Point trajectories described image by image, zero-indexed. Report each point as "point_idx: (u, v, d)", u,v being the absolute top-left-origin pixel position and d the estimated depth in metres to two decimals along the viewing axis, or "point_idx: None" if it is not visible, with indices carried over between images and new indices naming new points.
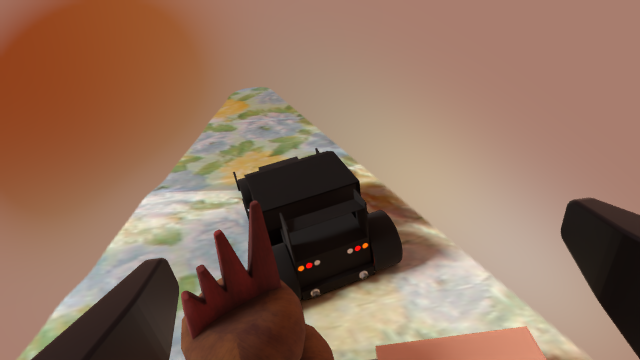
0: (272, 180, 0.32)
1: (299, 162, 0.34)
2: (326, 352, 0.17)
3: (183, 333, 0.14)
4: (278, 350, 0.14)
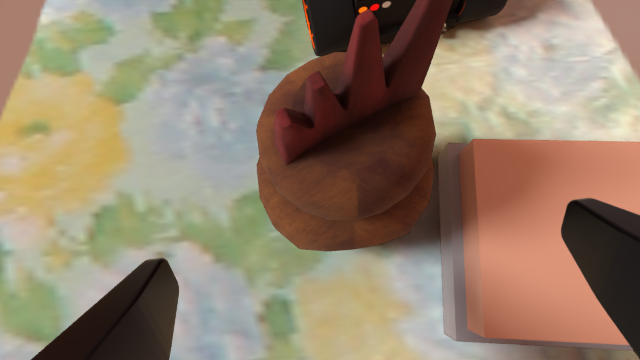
0: None
1: None
2: None
3: (266, 148, 0.09)
4: (405, 188, 0.10)
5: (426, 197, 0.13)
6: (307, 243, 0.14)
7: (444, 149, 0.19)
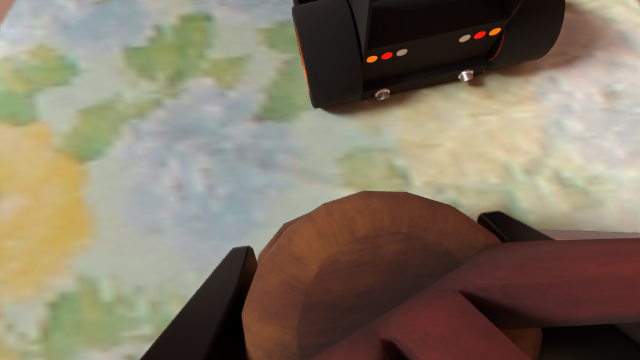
0: None
1: None
2: None
3: None
4: None
5: None
6: None
7: None
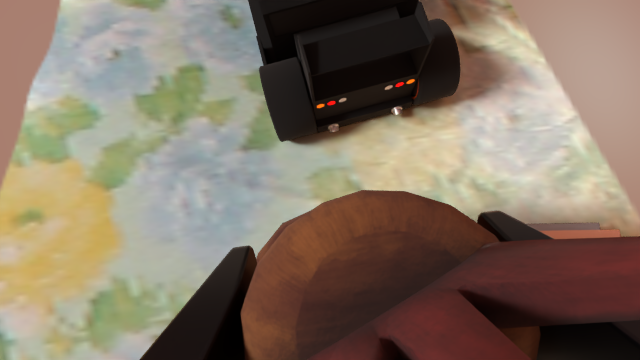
0: None
1: None
2: None
3: None
4: None
5: None
6: None
7: None
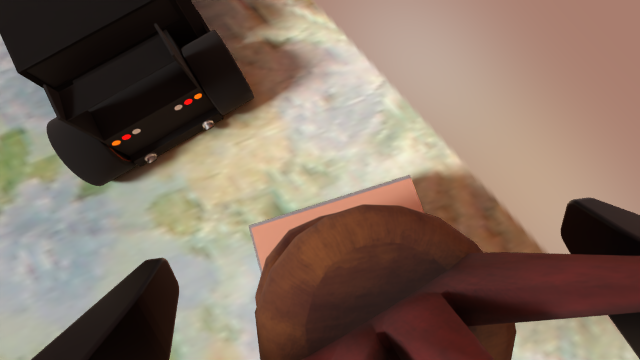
0: None
1: None
2: None
3: None
4: None
5: None
6: None
7: None
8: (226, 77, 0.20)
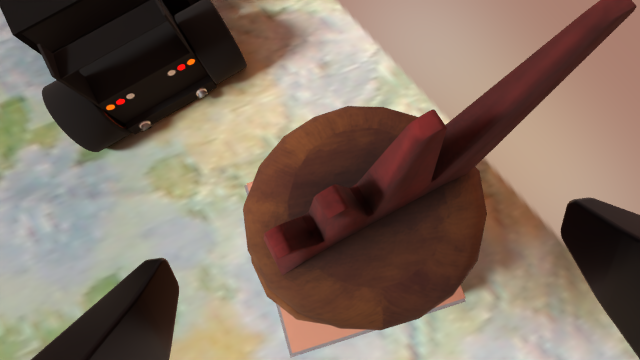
0: None
1: None
2: None
3: (255, 244, 0.07)
4: (446, 298, 0.07)
5: None
6: (310, 321, 0.11)
7: None
8: (218, 43, 0.21)
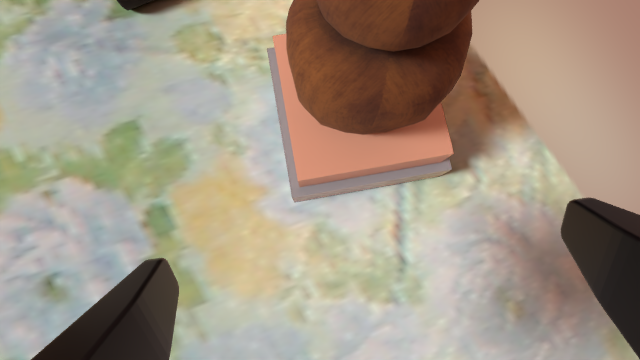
0: None
1: None
2: (471, 22, 0.13)
3: None
4: (461, 0, 0.09)
5: (460, 63, 0.13)
6: (331, 99, 0.13)
7: None
8: None
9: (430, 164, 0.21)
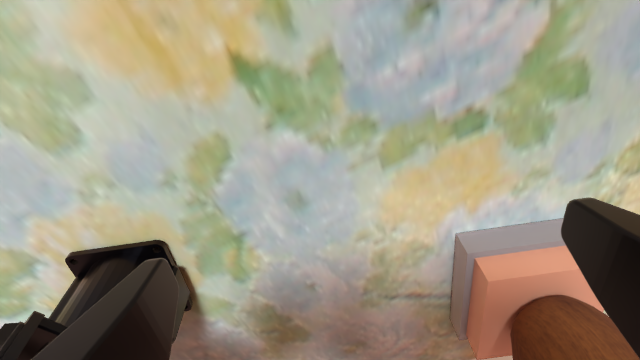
0: None
1: None
2: None
3: None
4: None
5: None
6: None
7: None
8: None
9: (466, 330, 0.28)
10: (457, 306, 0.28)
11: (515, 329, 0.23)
